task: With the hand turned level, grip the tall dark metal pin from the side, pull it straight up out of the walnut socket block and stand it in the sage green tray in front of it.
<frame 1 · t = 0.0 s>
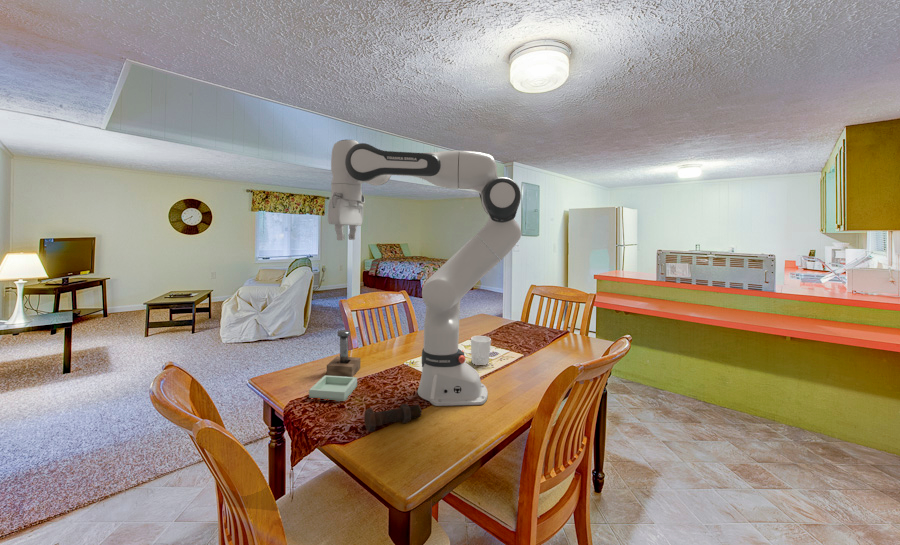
hand: (346, 240, 112), 48 cm above the table, tool pointing down, fingers open, 8 cm apart
bolt: (394, 424, 96), on the table
socket block: (344, 372, 128), on the table
white cup: (479, 363, 141), on the table
tray: (334, 392, 112), on the table
pin: (344, 352, 127), in the socket block
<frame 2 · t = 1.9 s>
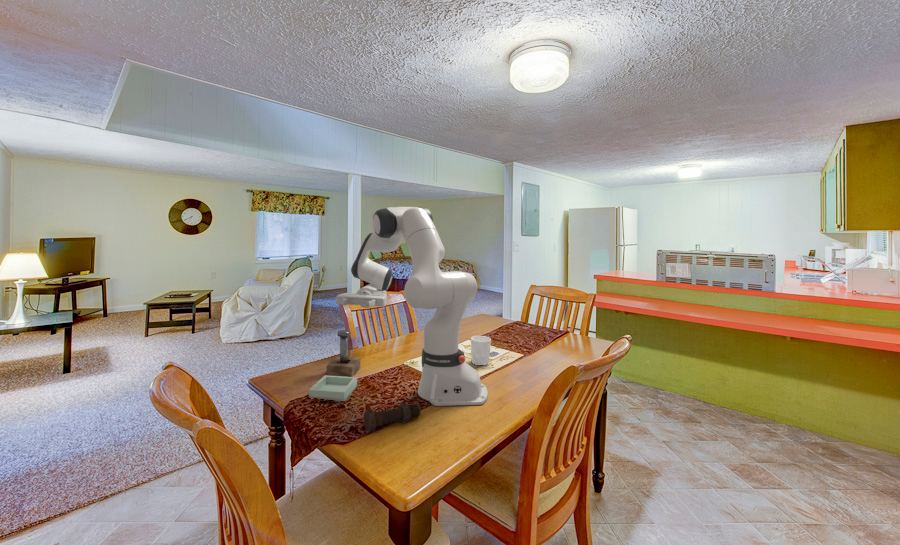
hand: (355, 303, 139), 22 cm above the table, tool horizontal, fingers open, 8 cm apart
nothing on the table moved.
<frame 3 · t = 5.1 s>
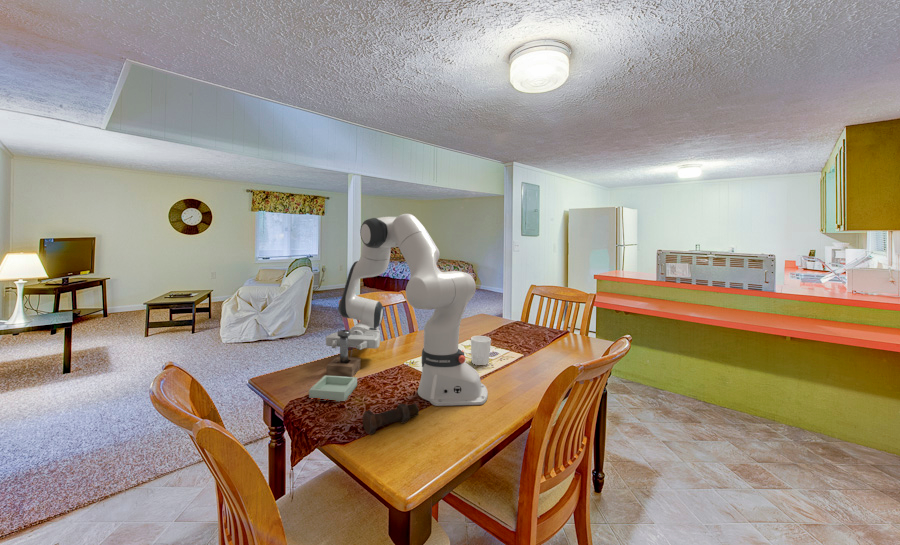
hand: (346, 346, 129), 9 cm above the table, tool horizontal, fingers open, 8 cm apart
nothing on the table moved.
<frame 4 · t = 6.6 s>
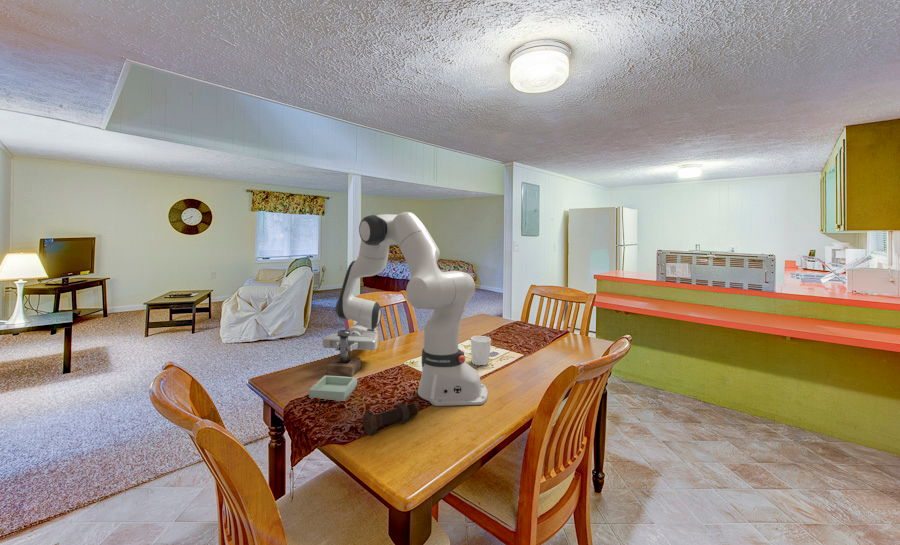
hand: (343, 348, 126), 9 cm above the table, tool horizontal, fingers closed on pin, 3 cm apart
pin: (344, 352, 128), in the socket block, touching gripper
everything else where it was.
when the fingers open (11 cm above the table, at t = 11.3 s): pin drops 1 cm, resting on tray.
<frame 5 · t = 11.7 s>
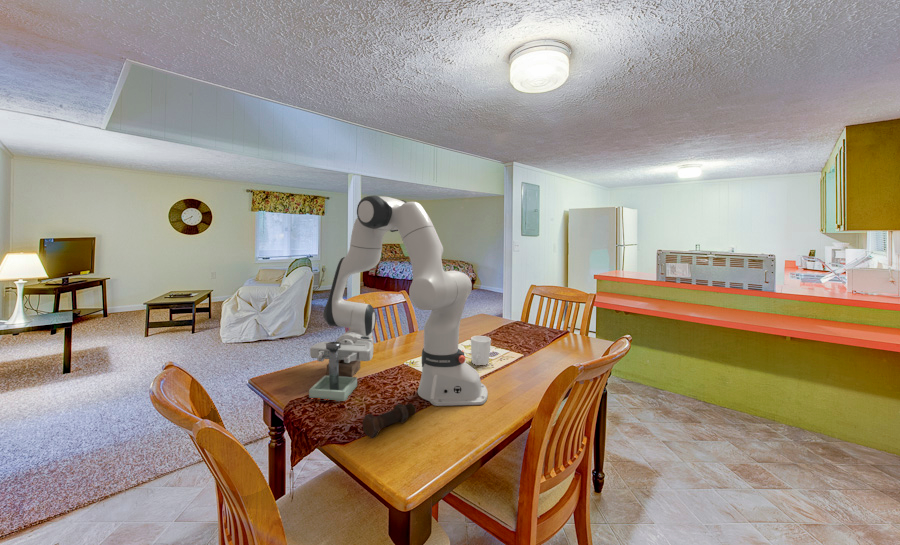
hand: (332, 359, 110), 11 cm above the table, tool horizontal, fingers open, 7 cm apart
pin: (333, 367, 111), in the tray, point 8 cm above the table
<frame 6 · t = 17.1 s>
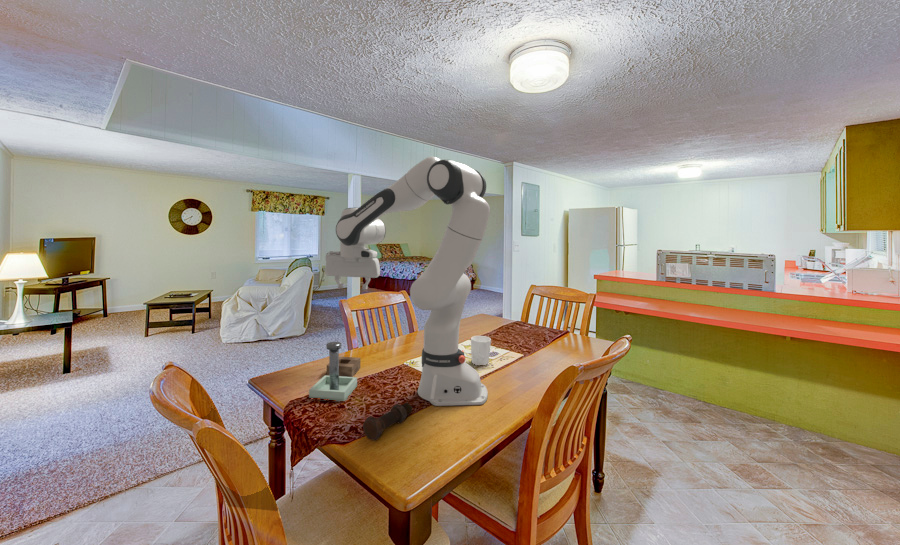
hand: (352, 288, 134), 29 cm above the table, tool pointing down, fingers open, 8 cm apart
at the end: pin inside the target area on the tray (0.0 cm from its centre), point 8.3 cm above the tray's base; pin touching tray; the gripper is holding nothing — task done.
